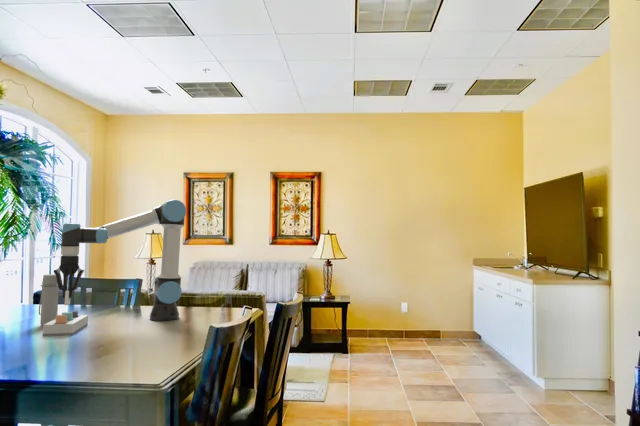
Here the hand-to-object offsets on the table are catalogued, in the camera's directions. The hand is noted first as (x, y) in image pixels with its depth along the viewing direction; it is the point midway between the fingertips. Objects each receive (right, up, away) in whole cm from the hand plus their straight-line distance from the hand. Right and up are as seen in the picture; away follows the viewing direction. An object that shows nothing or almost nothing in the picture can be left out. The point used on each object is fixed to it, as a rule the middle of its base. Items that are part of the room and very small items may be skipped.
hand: (67, 304), depth 205 cm
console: (0, -12, -1) cm, 12 cm away
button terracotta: (+2, -8, -8) cm, 12 cm away
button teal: (0, -9, 0) cm, 9 cm away
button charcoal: (-2, -10, +7) cm, 12 cm away
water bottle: (-17, -13, +11) cm, 24 cm away
